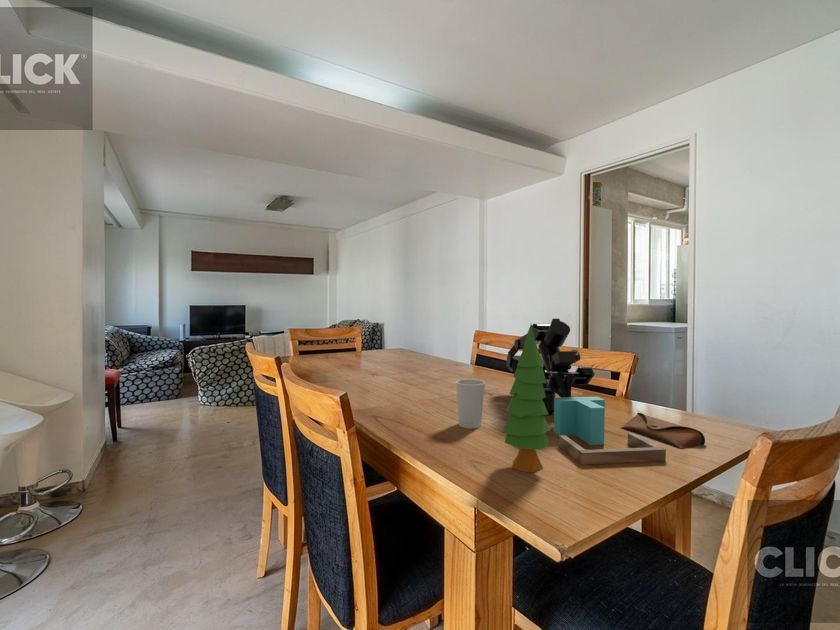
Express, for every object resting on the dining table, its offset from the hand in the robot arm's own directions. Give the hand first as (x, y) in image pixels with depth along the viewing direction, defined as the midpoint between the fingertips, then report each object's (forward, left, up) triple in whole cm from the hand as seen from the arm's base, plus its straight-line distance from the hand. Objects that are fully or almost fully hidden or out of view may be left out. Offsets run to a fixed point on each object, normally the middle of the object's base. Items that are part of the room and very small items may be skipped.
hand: (569, 402), depth 109 cm
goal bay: (+14, +14, -7) cm, 21 cm away
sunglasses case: (-7, +20, -7) cm, 23 cm away
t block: (+6, +6, -7) cm, 11 cm away
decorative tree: (+32, +1, -7) cm, 33 cm away
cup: (+16, -22, -7) cm, 28 cm away
